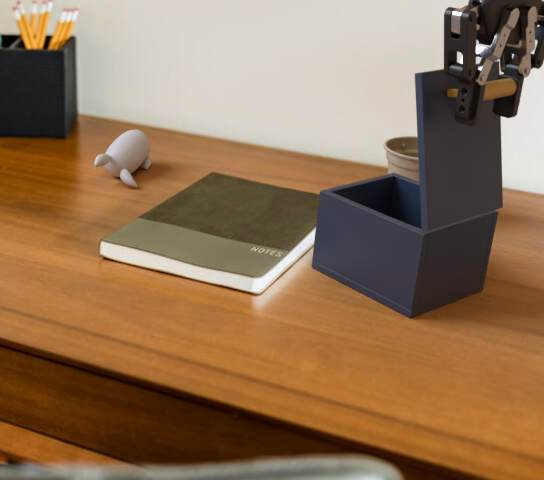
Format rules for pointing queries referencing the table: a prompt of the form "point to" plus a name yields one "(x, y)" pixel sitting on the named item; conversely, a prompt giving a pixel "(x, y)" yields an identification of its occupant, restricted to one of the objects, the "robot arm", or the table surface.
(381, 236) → the chest
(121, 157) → the grey animal figurine
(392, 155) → the flower pot
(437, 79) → the lid
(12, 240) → the table surface
